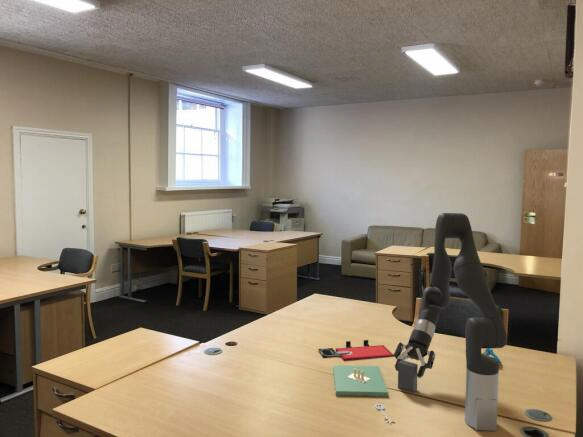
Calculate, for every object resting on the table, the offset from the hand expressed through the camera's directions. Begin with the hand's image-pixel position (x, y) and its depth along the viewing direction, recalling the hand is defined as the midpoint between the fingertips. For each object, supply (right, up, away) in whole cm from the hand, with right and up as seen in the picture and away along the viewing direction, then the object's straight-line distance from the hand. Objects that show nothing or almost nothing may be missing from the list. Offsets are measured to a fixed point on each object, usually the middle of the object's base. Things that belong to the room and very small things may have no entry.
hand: (407, 373), depth 163 cm
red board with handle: (-14, -3, +35) cm, 38 cm away
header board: (-17, -5, +6) cm, 19 cm away
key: (-12, -8, -17) cm, 22 cm away
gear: (+41, -4, +26) cm, 49 cm away
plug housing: (0, -6, 0) cm, 6 cm away
